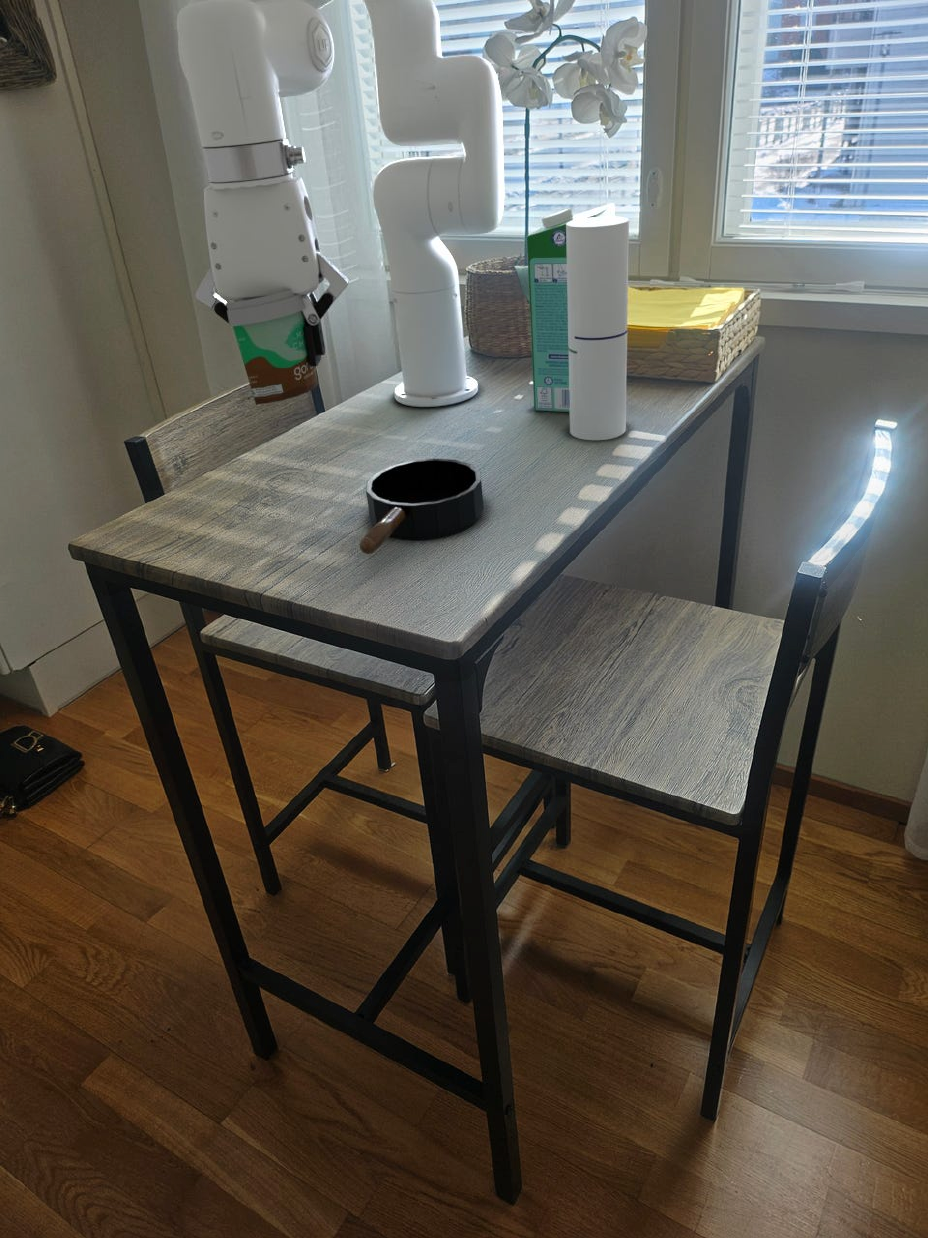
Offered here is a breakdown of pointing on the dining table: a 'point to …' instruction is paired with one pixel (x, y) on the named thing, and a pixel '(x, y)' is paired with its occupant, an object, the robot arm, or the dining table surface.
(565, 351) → the milk carton
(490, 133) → the robot arm
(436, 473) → the pan
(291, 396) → the food container
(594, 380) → the cylindrical container
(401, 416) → the dining table surface
